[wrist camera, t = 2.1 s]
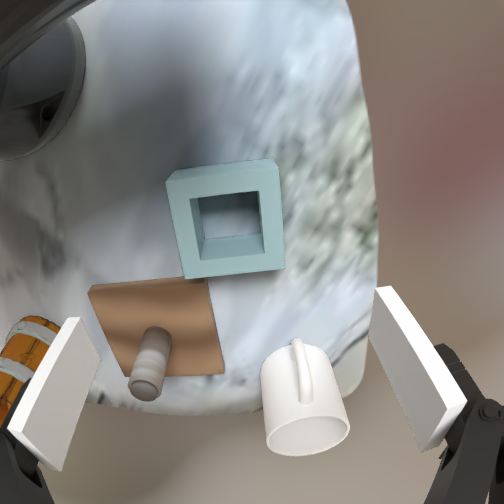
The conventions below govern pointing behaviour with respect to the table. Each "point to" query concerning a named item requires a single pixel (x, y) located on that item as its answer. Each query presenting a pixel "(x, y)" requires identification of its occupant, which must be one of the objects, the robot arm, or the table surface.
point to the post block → (159, 330)
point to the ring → (236, 247)
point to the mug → (23, 356)
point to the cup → (301, 401)
